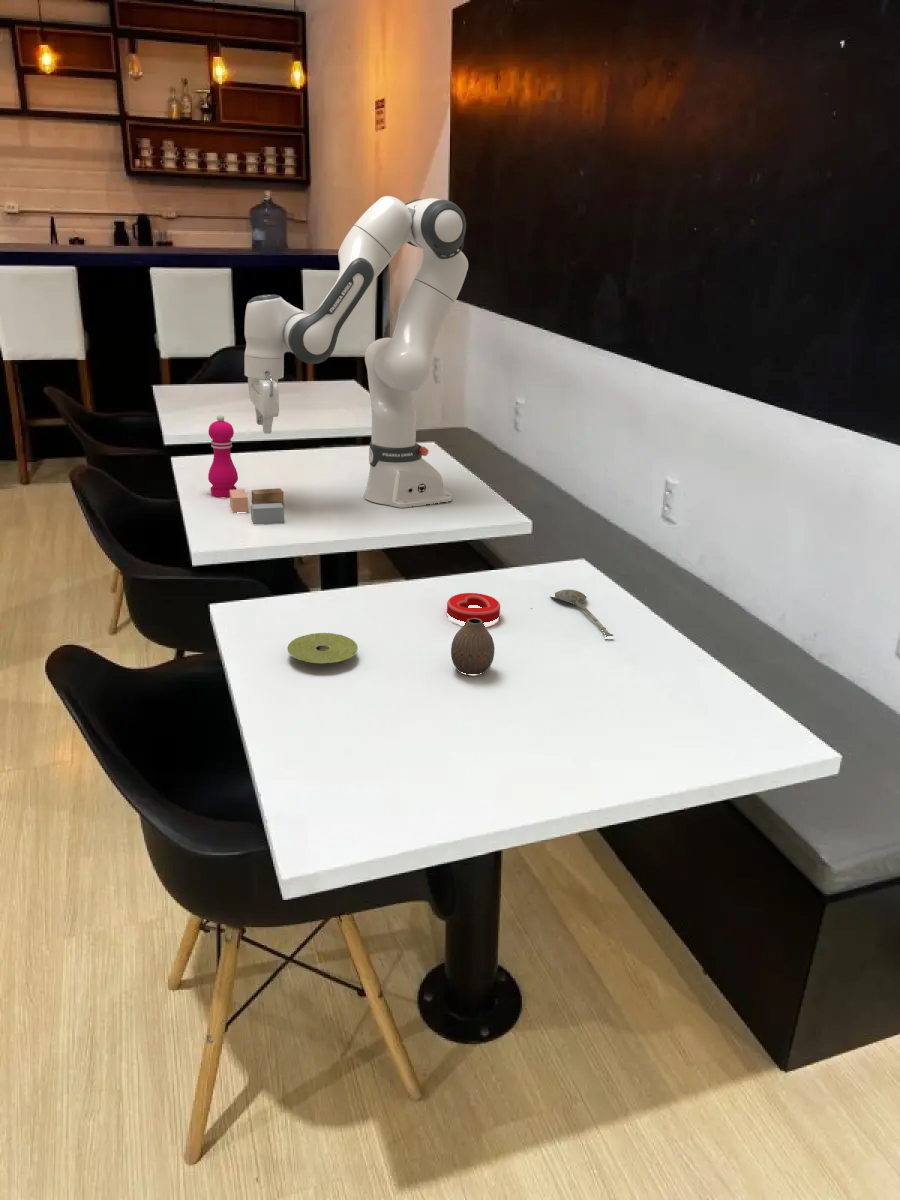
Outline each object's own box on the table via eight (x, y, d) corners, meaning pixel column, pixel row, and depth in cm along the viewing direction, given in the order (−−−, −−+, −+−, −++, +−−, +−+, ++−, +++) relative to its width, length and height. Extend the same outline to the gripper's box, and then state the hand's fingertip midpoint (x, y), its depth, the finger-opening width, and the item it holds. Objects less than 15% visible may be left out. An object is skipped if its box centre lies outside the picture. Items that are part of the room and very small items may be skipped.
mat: (371, 654, 150) (371, 643, 149) (329, 680, 141) (329, 669, 140) (316, 637, 155) (316, 626, 155) (273, 661, 146) (272, 650, 145)
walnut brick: (280, 504, 225) (280, 488, 224) (283, 508, 222) (283, 492, 221) (251, 505, 223) (251, 490, 221) (254, 510, 220) (254, 493, 218)
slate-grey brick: (281, 519, 214) (281, 502, 212) (284, 523, 211) (283, 507, 209) (251, 521, 212) (250, 504, 210) (253, 525, 209) (253, 508, 207)
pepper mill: (234, 499, 226) (231, 418, 219) (205, 497, 226) (201, 416, 219) (241, 491, 233) (238, 412, 225) (213, 489, 233) (209, 411, 225)
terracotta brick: (230, 505, 222) (229, 489, 220) (244, 505, 223) (244, 489, 221) (233, 514, 216) (232, 498, 214) (248, 513, 217) (247, 497, 215)
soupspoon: (576, 597, 181) (545, 601, 180) (577, 581, 180) (545, 584, 178) (625, 640, 161) (591, 644, 160) (626, 622, 160) (592, 627, 159)
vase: (443, 663, 149) (446, 614, 145) (482, 658, 151) (486, 610, 148) (459, 682, 143) (462, 631, 139) (499, 677, 145) (503, 627, 142)
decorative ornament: (496, 631, 162) (497, 615, 161) (442, 625, 163) (443, 609, 162) (501, 610, 171) (502, 595, 170) (450, 605, 172) (451, 589, 171)
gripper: (286, 376, 202) (285, 438, 207) (270, 362, 220) (270, 419, 225) (257, 375, 200) (257, 438, 205) (243, 361, 217) (243, 419, 223)
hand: (263, 428), depth 215 cm, fingers open, 8 cm apart
